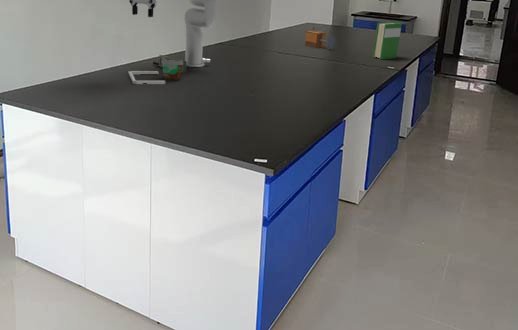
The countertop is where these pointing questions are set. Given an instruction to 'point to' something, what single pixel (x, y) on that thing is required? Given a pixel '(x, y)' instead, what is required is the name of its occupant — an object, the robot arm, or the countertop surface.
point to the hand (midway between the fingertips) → (142, 15)
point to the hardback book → (387, 40)
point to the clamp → (318, 39)
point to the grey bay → (144, 81)
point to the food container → (171, 69)
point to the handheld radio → (171, 59)
